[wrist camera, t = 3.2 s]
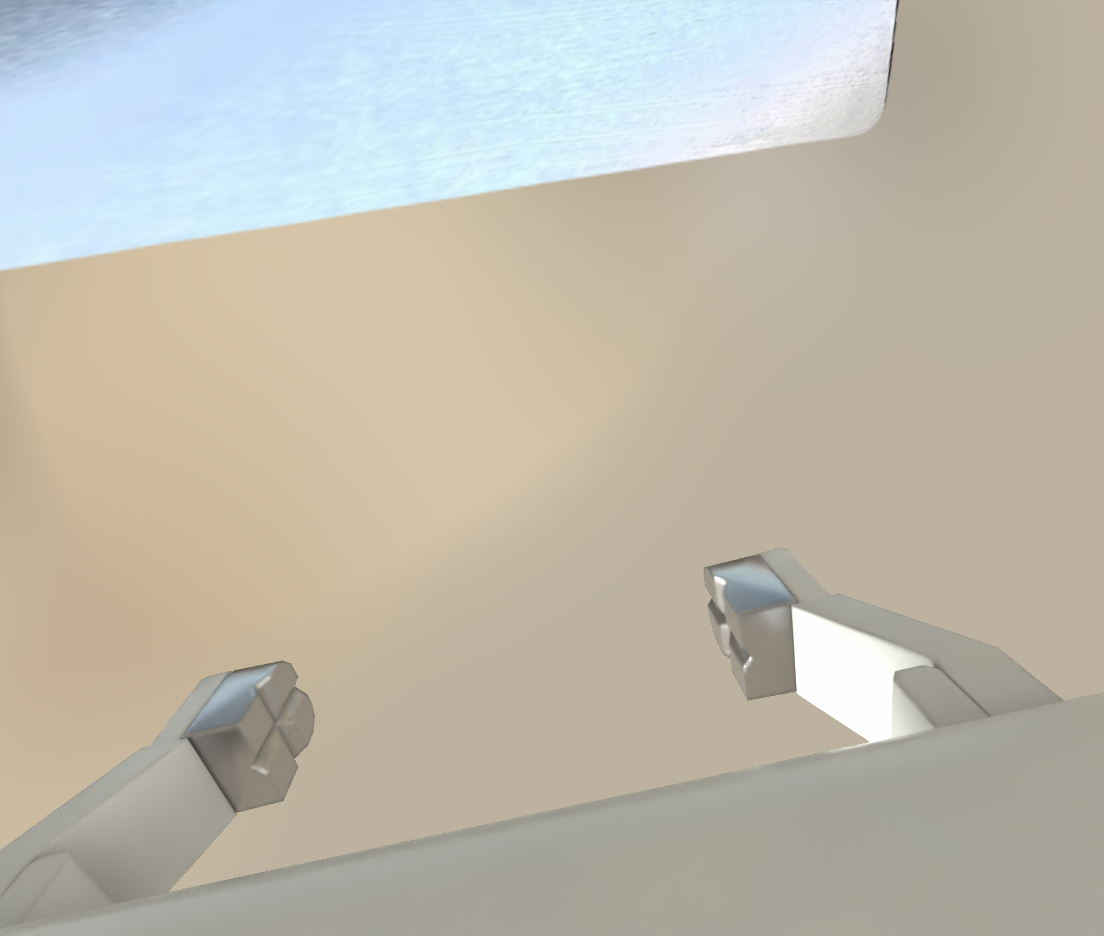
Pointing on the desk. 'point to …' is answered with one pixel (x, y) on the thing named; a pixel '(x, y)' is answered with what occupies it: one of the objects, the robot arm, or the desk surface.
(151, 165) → the desk surface
